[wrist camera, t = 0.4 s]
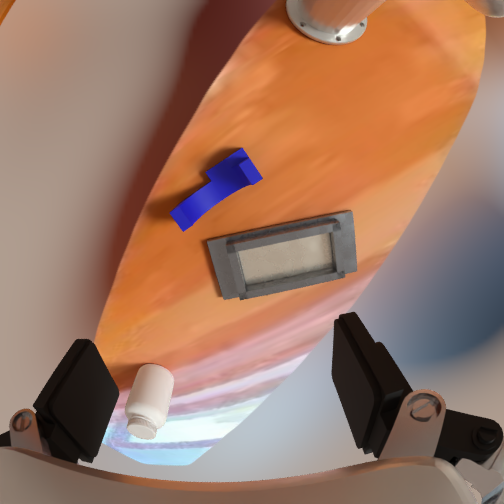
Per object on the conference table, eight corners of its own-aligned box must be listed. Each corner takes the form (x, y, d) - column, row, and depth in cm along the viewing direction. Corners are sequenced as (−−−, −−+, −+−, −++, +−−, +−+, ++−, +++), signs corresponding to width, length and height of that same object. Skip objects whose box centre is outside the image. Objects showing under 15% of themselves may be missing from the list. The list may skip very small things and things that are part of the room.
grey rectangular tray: (207, 239, 42) (205, 246, 39) (350, 210, 41) (357, 214, 38) (224, 296, 46) (223, 306, 43) (355, 268, 45) (361, 276, 42)
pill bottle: (182, 383, 53) (171, 441, 39) (153, 391, 54) (138, 444, 40) (160, 358, 50) (142, 417, 36) (131, 367, 51) (109, 421, 37)
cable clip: (242, 147, 38) (242, 147, 32) (259, 173, 39) (262, 178, 33) (173, 195, 40) (162, 203, 34) (191, 219, 41) (183, 231, 35)
